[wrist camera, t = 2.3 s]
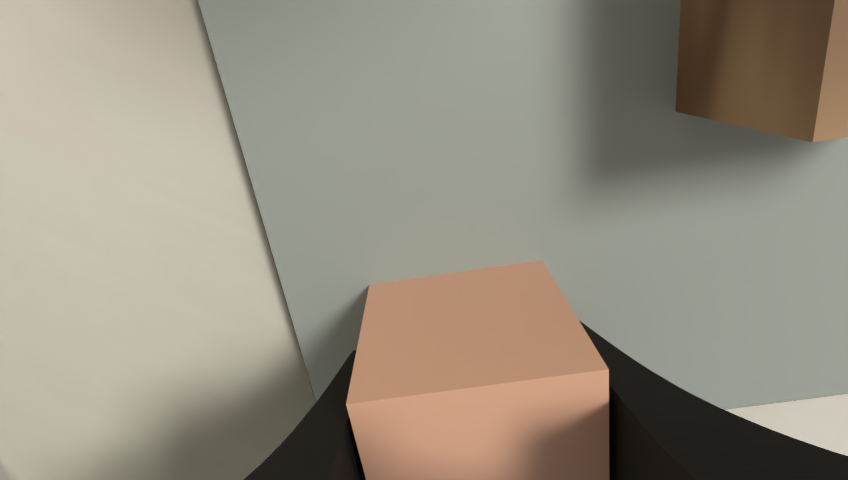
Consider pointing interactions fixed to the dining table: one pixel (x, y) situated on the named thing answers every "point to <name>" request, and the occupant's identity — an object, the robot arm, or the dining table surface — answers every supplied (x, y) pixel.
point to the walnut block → (766, 65)
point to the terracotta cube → (478, 380)
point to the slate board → (537, 181)
